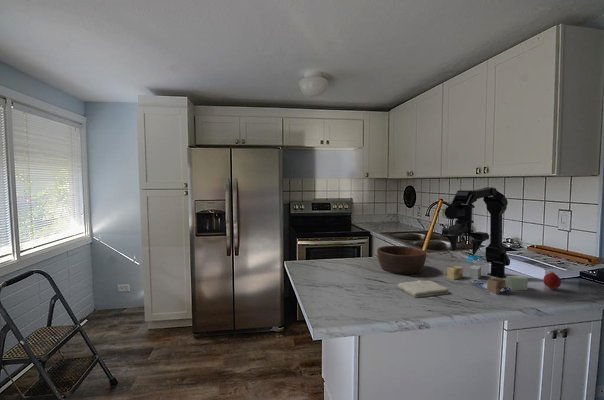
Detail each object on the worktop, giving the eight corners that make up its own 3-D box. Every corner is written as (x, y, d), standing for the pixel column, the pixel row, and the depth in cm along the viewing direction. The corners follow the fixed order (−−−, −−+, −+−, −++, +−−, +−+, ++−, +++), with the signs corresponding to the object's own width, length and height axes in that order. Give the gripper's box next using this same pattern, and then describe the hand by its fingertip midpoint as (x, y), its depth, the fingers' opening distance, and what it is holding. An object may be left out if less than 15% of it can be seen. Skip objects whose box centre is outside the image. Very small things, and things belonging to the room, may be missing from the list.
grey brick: (472, 274, 146) (473, 265, 146) (480, 276, 144) (481, 266, 144) (469, 278, 141) (469, 267, 141) (477, 279, 139) (478, 269, 138)
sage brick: (520, 287, 129) (521, 276, 128) (527, 289, 125) (527, 278, 125) (505, 287, 128) (506, 276, 128) (511, 290, 125) (512, 278, 124)
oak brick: (455, 275, 144) (456, 266, 144) (462, 277, 141) (463, 267, 141) (446, 277, 141) (447, 267, 141) (453, 279, 138) (453, 269, 138)
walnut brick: (496, 289, 126) (496, 277, 126) (505, 291, 123) (505, 280, 123) (487, 291, 123) (487, 280, 122) (495, 294, 119) (496, 282, 119)
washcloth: (450, 294, 120) (451, 287, 120) (414, 299, 115) (414, 291, 115) (430, 285, 131) (430, 278, 131) (396, 289, 126) (396, 282, 126)
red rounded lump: (556, 288, 127) (557, 270, 127) (563, 292, 122) (564, 273, 121) (540, 286, 129) (541, 268, 129) (546, 291, 123) (547, 272, 123)
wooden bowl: (368, 269, 154) (369, 250, 154) (388, 260, 173) (388, 243, 173) (416, 279, 138) (416, 258, 138) (432, 268, 157) (432, 249, 157)
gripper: (434, 217, 134) (433, 250, 135) (474, 221, 118) (473, 259, 118) (449, 215, 139) (448, 248, 140) (490, 219, 123) (489, 256, 124)
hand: (463, 252), depth 130 cm, fingers open, 9 cm apart
